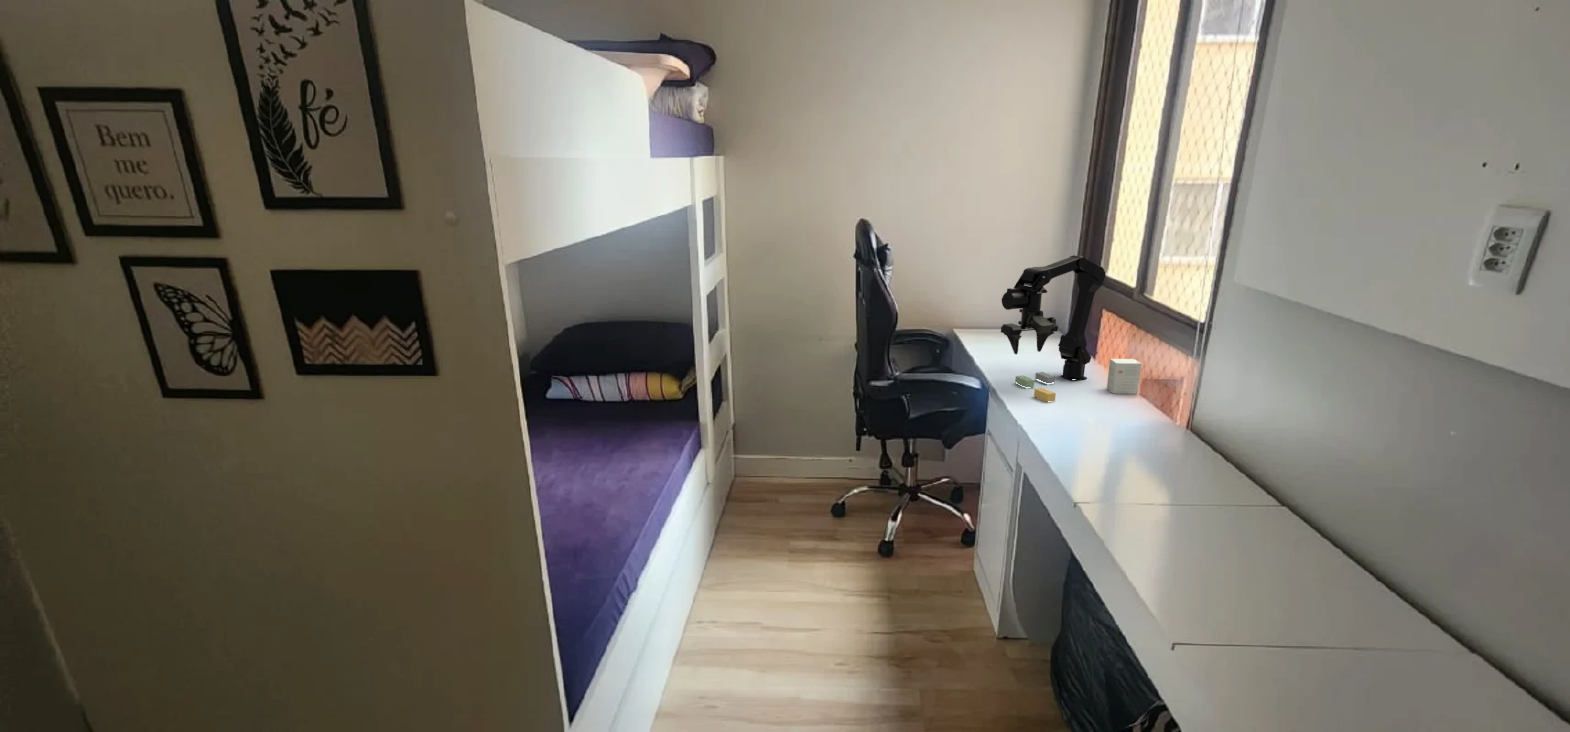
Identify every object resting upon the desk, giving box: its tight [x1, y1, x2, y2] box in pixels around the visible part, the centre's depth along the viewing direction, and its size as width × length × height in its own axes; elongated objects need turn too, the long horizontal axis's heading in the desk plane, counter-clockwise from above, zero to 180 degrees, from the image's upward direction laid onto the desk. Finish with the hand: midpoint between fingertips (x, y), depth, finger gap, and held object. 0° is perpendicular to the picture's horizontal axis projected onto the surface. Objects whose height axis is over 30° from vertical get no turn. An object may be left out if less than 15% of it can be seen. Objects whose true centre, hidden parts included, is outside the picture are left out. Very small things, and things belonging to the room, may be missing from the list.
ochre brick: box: [1033, 387, 1057, 403], centre depth 216 cm, size 6×3×3 cm, turn 23°
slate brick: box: [1034, 371, 1056, 383], centre depth 233 cm, size 6×3×3 cm, turn 20°
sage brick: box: [1014, 374, 1035, 387], centre depth 230 cm, size 6×3×3 cm, turn 18°
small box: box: [1106, 358, 1142, 395], centre depth 222 cm, size 8×6×10 cm
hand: (1027, 352), depth 227 cm, fingers open, 9 cm apart
